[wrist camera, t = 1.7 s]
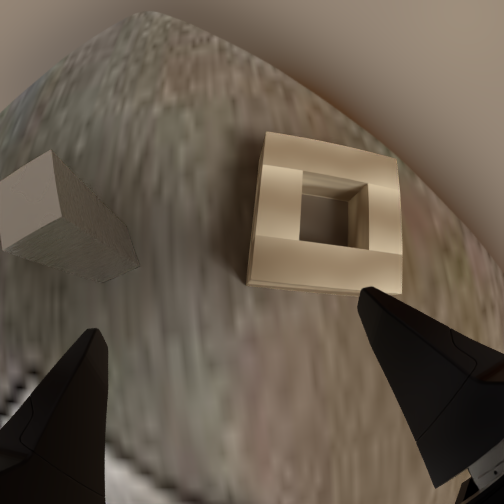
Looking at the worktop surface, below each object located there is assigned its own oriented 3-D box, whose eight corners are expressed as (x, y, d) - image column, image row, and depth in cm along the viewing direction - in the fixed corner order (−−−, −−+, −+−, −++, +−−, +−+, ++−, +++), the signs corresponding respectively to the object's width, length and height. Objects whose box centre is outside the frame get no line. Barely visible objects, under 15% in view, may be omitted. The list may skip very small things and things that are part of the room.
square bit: (140, 266, 23) (61, 216, 11) (102, 282, 23) (2, 250, 10) (126, 226, 24) (51, 149, 11) (90, 243, 23) (-4, 184, 10)
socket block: (374, 297, 24) (401, 293, 20) (245, 285, 24) (250, 279, 19) (373, 180, 27) (396, 159, 22) (259, 159, 26) (266, 131, 22)
